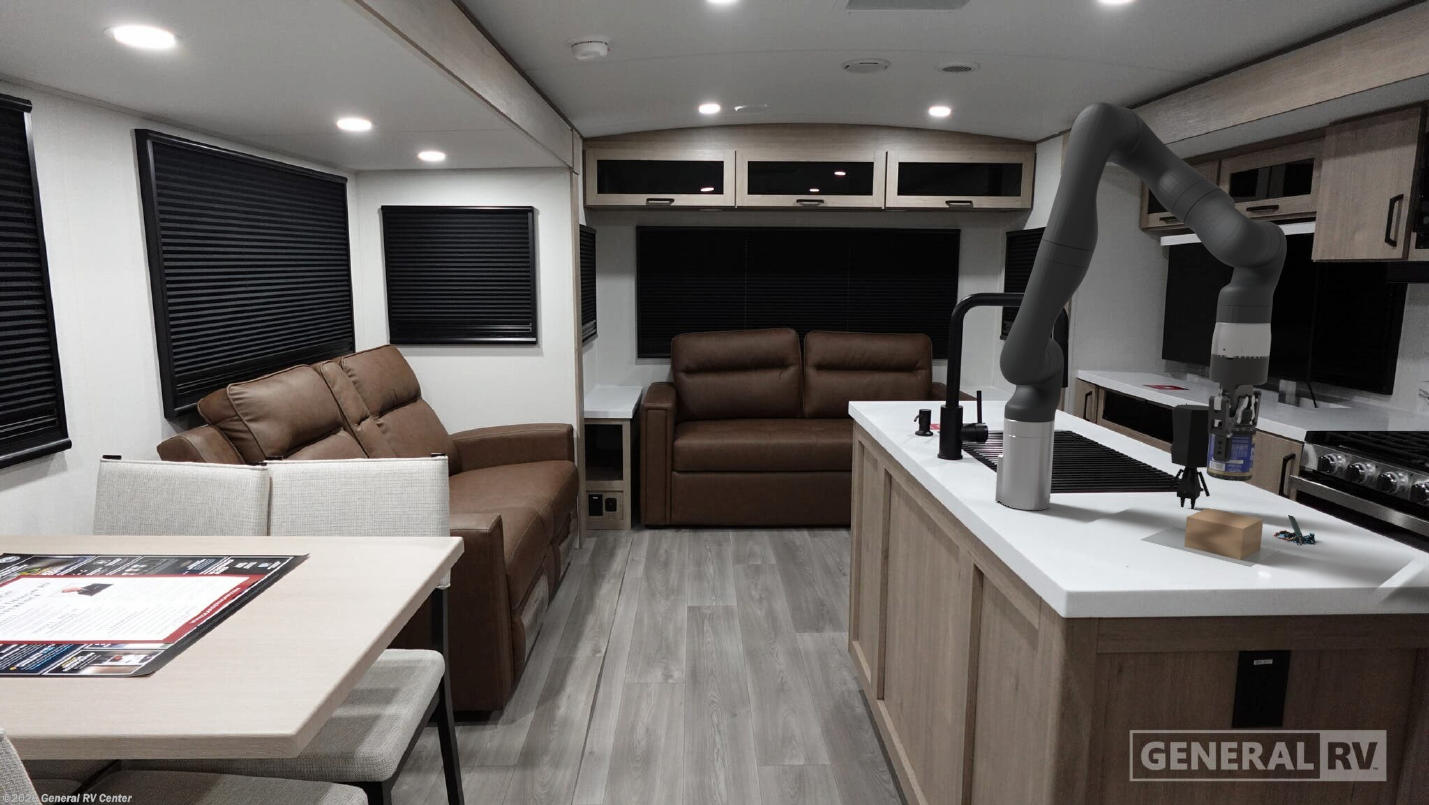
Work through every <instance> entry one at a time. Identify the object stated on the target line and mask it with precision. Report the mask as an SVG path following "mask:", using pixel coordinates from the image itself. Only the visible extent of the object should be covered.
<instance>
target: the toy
mask: <svg viewBox="0 0 1429 805" xmlns="http://www.w3.org/2000/svg"><path fill="white" fill-rule="evenodd" d="M1208 411H1209V405H1203V404H1188V403H1185V404H1176V406H1174V407H1173V408H1172V410H1171V412H1172V413H1171V414H1172V418H1171V419H1172V436H1173V441H1172V442H1171V445H1170V447H1169V449H1170V454H1171V456H1170V457H1171V464H1175V465H1179V466H1182V467H1184V469H1183V468H1179V470H1178V472H1177V473H1176V474H1175V477H1174V478H1173V480H1172V481H1171V484H1170V485H1169V487H1168V489H1167V490H1168V491H1169V492H1170V491H1172V490H1173V488H1174V487H1175V485H1176V483H1177V481H1178V480H1179V478H1180V476H1181V478H1180V480H1179V482H1178V485H1177V488H1176V498H1180V499H1179V500H1180V507H1181V508H1184V506H1185V502H1186V500H1187V499H1188V500H1190V509H1191V510H1195V506H1196V500H1197V499H1198V498H1199V497H1200V496H1201V492H1202V487H1203V490H1204V494H1205V497H1210V496H1211V495H1210V492H1209V489H1208V486H1207V483H1206V480H1205V478H1204V475H1203V472H1202V471H1201V470H1200V471H1198V468H1199V469H1200V468H1201V469H1204V468H1206V469H1207V459H1208V448H1209V436H1210V434H1209V433H1208ZM1201 486H1202V487H1201Z"/></svg>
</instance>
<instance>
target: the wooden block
mask: <svg viewBox="0 0 1429 805" xmlns="http://www.w3.org/2000/svg"><path fill="white" fill-rule="evenodd" d="M1185 524H1186V525H1185V529H1186V533H1185V545H1184V547H1188V548H1192V549H1196V550H1200V551H1205V552H1209V553H1213V554H1217V555H1221V556H1225V557H1229V558H1233V559H1238V560H1241V559H1243V558H1245V557H1247V556H1249V555H1251V554H1253V553H1255V552H1257V551H1258V550H1260V547H1261V546H1262V537H1263V536H1262V535H1263V526H1264V518H1260V517H1259V518H1258V517H1254V516H1249V515H1245V514H1240V513H1233V512H1229V511H1224V510H1221V509H1220V510H1219V509H1216V508H1209V507H1207V508H1205V509H1203V510H1202V509H1201V510H1199V511H1198V512H1195V513H1192V514H1191V515H1188V516H1186V522H1185Z"/></svg>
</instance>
